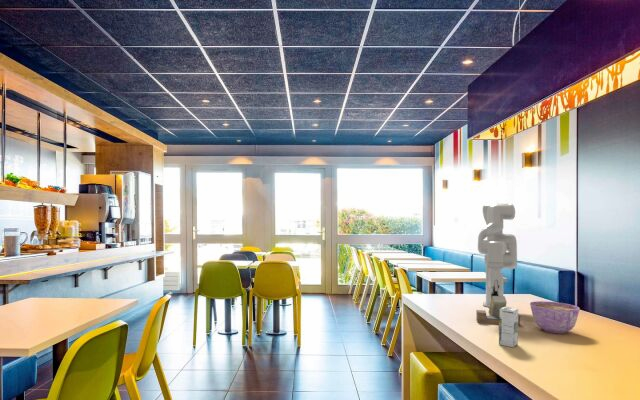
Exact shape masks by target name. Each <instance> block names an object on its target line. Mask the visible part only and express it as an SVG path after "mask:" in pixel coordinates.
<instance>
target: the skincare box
mask: <svg viewBox="0 0 640 400" xmlns="http://www.w3.org/2000/svg"><path fill="white" fill-rule="evenodd" d="M507 304H508V303H507V299H506V297H505V295H503V296H492V299H491V303H490V307H488V316H497V317H500V309H501V308H503V307H507Z"/></svg>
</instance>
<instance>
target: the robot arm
mask: <svg viewBox="0 0 640 400" xmlns="http://www.w3.org/2000/svg"><path fill="white" fill-rule="evenodd" d="M482 215H483V218H484V222H485V223H486V226H485V227H483V228H482V229H481V231H480V232H479V234H478V236H477V250H478V253H479V254H481V255H484V257H483V258H484V265H485V266H484V267H485V301H484V302H483V303H482V305H483V306H484V307H487V308H489V307H490V303H491V299H492V296H504V275H503V272H501V270H514V269H516V268H517V265H518V245H517V244H518V243H517V238H516V236H515V235H514V234H510V233H504V232H503V229H504V220H509V221H510V220H514V218H516V217H515V216H516V209H515V205H514V204H513V203H486V204H484V205H483V206H482Z"/></svg>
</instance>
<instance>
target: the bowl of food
mask: <svg viewBox="0 0 640 400" xmlns="http://www.w3.org/2000/svg"><path fill="white" fill-rule="evenodd" d="M529 305H530V309H531V313H532V317H533V321H534V322H535V324H536V325H537V326H538V327H539V328H540V329H543V330H544V331H545V332H548V333H551V334H564V333H566V332H569V331H571V330H572V329H574V327H575V326H576V323H577V321H578V316H579V313H580V307H579V306H577V305H574V304H569V303H564V302H555V301H544V300H542V301H541V300H540V301H539V300H538V301H531V302H530V303H529Z"/></svg>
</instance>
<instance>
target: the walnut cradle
mask: <svg viewBox="0 0 640 400" xmlns="http://www.w3.org/2000/svg"><path fill="white" fill-rule="evenodd" d="M475 319H476V322H477V323H479V324H492V325H499V317H497V316H489V315H487V311H486V310H484V309H476V315H475ZM520 326H521V315H520V314H519V313H518V327H520Z"/></svg>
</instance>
